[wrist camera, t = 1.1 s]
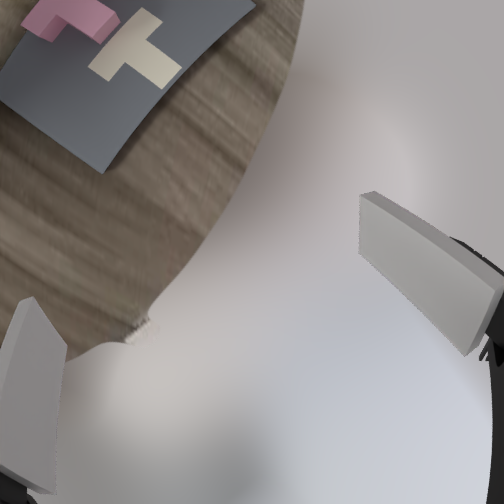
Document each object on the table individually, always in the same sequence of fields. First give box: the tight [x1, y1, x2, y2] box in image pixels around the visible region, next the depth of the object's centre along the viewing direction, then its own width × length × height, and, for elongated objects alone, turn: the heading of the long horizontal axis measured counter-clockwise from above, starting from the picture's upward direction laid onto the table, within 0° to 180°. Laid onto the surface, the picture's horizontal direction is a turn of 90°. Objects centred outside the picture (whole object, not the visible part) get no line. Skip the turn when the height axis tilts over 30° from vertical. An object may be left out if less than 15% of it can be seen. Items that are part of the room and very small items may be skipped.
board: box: [0, 0, 257, 174], centre depth 22 cm, size 18×24×1 cm
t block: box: [20, 0, 121, 45], centre depth 17 cm, size 8×8×4 cm
